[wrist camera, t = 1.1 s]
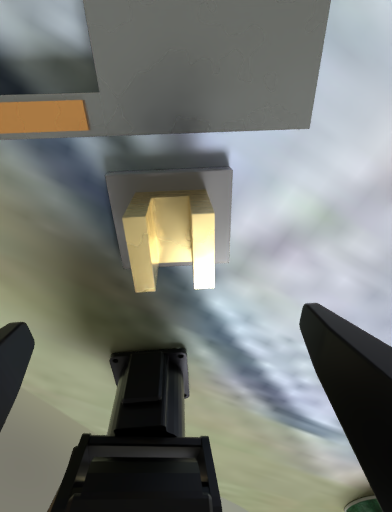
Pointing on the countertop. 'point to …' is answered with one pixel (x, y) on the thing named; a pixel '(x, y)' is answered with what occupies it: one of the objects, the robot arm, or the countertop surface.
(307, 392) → the countertop surface
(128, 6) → the rail plate
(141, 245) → the brass clip
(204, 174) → the tab
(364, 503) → the canned tomato
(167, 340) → the countertop surface
